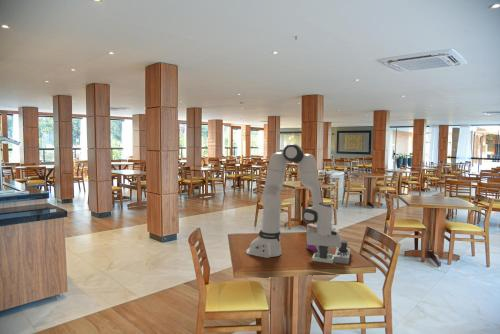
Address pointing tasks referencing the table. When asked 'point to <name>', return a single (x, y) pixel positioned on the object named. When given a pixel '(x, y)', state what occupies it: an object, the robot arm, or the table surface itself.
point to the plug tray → (317, 258)
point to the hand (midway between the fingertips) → (323, 253)
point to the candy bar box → (311, 247)
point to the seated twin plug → (343, 246)
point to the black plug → (323, 251)
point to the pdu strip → (342, 256)
